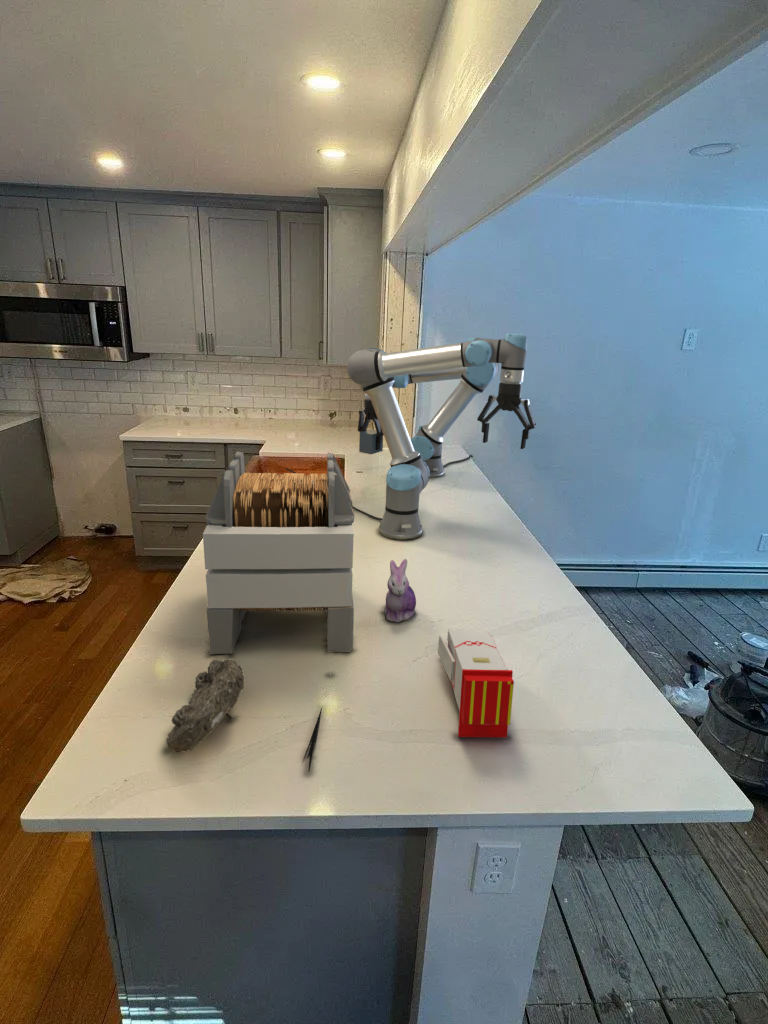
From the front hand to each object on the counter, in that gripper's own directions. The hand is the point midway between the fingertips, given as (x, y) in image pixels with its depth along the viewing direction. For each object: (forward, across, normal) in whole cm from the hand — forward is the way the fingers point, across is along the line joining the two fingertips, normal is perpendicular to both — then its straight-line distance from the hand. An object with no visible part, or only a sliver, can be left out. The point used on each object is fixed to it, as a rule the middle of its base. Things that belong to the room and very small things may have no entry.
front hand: (503, 445), depth 195 cm
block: (+21, -76, +34) cm, 86 cm away
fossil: (+32, -8, -126) cm, 130 cm away
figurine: (+32, +2, -72) cm, 78 cm away
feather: (+32, +9, -115) cm, 120 cm away
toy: (+32, +30, -90) cm, 101 cm away
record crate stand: (+32, -21, -90) cm, 97 cm away
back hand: (+20, -76, +34) cm, 85 cm away
